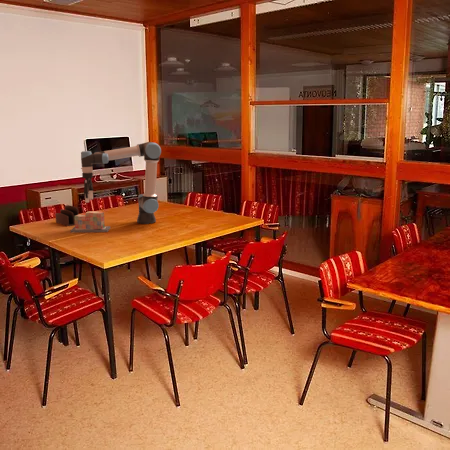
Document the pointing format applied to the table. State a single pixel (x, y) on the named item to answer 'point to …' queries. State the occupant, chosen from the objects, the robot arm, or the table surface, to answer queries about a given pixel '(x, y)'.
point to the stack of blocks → (90, 220)
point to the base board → (90, 229)
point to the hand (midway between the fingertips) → (89, 200)
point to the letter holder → (67, 215)
